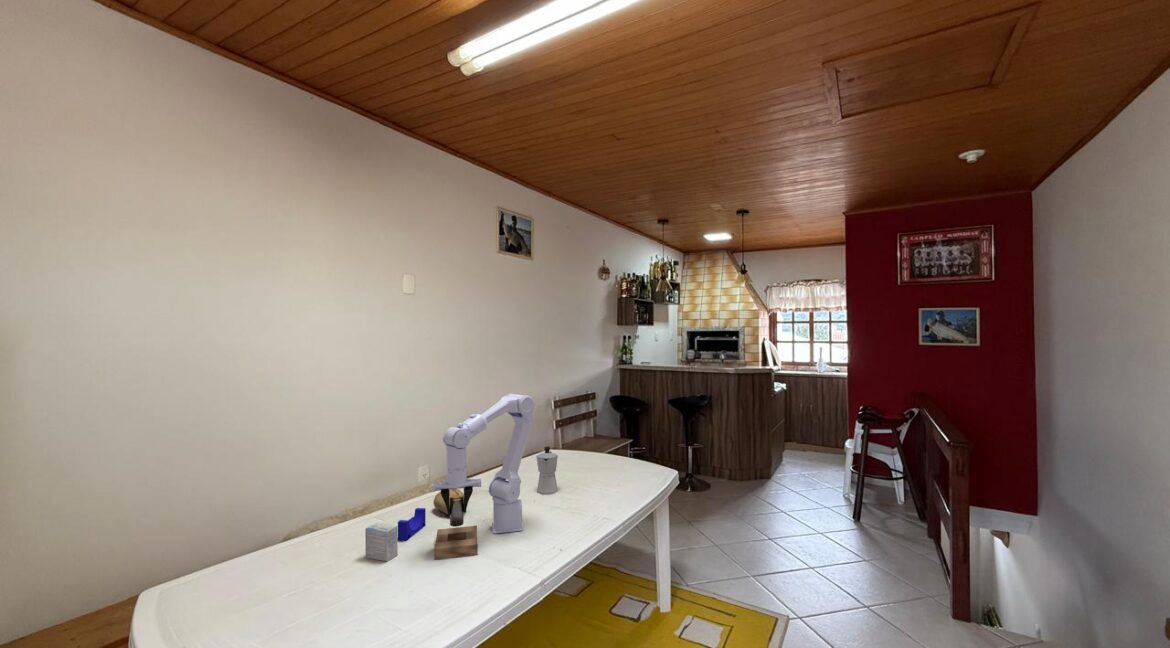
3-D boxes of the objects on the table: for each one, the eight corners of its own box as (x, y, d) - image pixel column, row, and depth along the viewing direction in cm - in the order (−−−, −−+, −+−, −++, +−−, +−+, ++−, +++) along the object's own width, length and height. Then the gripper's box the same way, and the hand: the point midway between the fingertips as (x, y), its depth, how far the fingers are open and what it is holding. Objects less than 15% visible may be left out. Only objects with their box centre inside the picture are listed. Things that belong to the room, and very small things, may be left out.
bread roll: (449, 503, 179) (449, 482, 179) (473, 513, 169) (473, 490, 169) (427, 511, 171) (427, 488, 172) (450, 521, 162) (450, 498, 162)
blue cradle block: (413, 525, 159) (413, 507, 159) (425, 526, 158) (425, 508, 158) (393, 540, 147) (393, 521, 147) (406, 541, 146) (406, 522, 146)
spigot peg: (462, 520, 145) (462, 494, 145) (464, 525, 141) (464, 498, 141) (449, 522, 143) (449, 496, 144) (450, 527, 140) (450, 500, 140)
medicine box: (398, 555, 137) (398, 525, 137) (387, 562, 132) (387, 531, 133) (376, 551, 139) (376, 522, 139) (364, 558, 135) (364, 527, 135)
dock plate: (476, 534, 150) (476, 525, 150) (477, 554, 136) (477, 544, 137) (437, 539, 147) (437, 529, 147) (434, 559, 134) (434, 549, 134)
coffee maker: (556, 496, 185) (556, 450, 186) (534, 496, 186) (534, 450, 186) (559, 484, 200) (559, 441, 201) (538, 484, 200) (538, 442, 201)
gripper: (479, 462, 148) (480, 505, 148) (431, 466, 144) (431, 510, 144) (482, 468, 142) (482, 513, 141) (431, 472, 137) (431, 519, 137)
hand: (456, 512), depth 142 cm, fingers closed on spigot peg, 4 cm apart
